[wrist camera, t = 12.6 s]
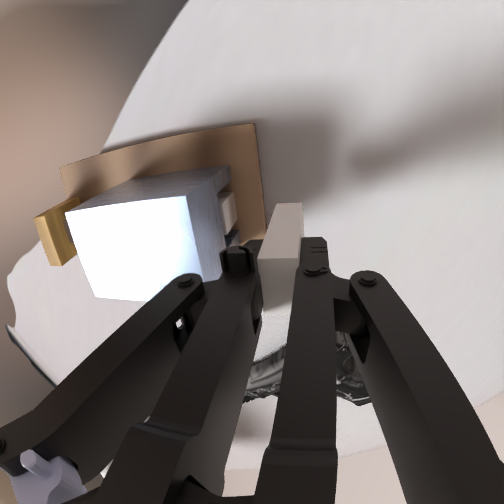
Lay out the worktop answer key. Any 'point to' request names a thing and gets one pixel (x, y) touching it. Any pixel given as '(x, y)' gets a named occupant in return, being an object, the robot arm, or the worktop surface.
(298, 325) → the robot arm
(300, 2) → the worktop surface
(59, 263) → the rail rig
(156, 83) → the worktop surface
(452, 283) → the worktop surface
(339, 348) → the handgun
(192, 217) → the slate grey block
